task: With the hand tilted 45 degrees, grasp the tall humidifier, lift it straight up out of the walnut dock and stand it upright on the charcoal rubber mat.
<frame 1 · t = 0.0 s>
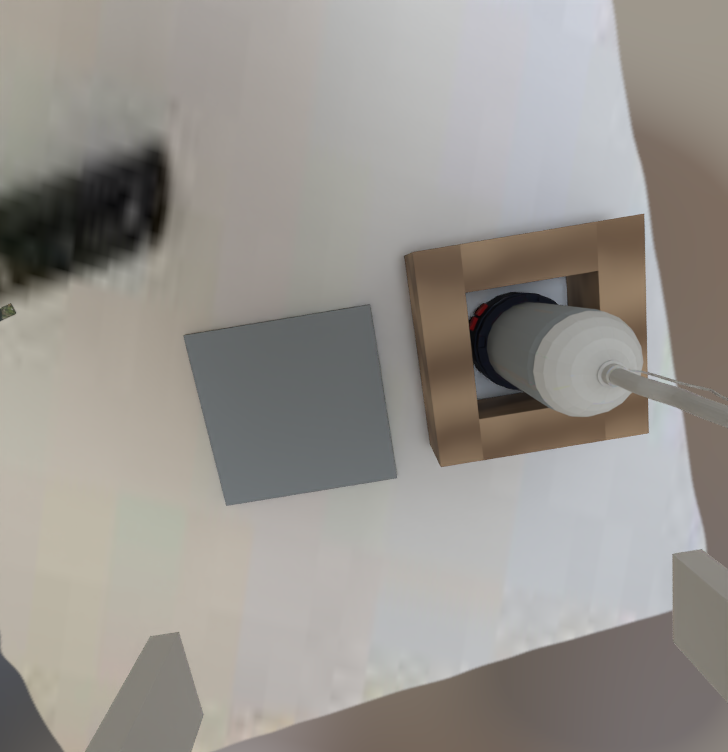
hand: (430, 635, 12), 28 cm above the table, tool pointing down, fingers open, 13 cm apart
mat: (295, 408, 39), on the table
dock: (513, 339, 38), on the table
humidifier: (512, 338, 39), resting in dock
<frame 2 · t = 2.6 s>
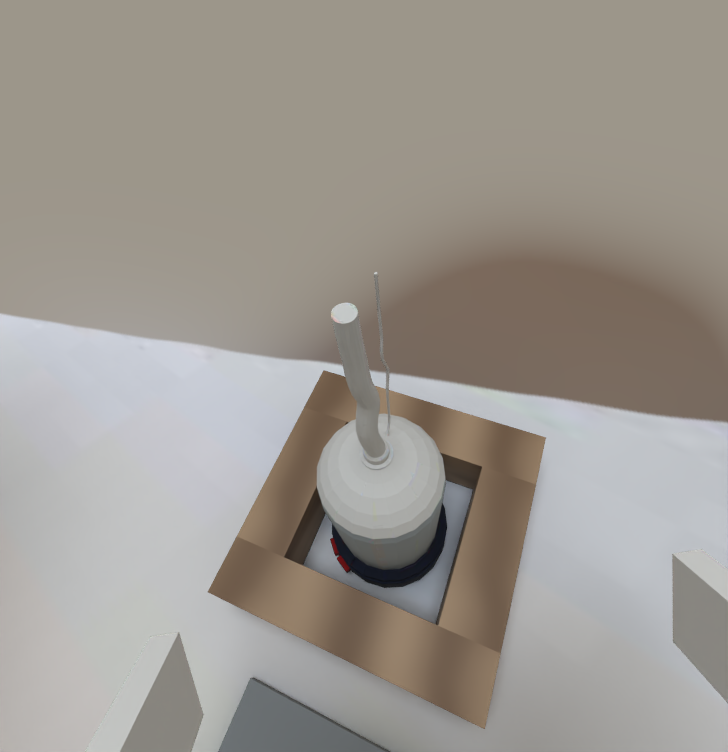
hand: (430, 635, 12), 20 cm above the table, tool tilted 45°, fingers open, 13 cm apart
dock: (389, 528, 33), on the table
humidifier: (389, 528, 33), resting in dock
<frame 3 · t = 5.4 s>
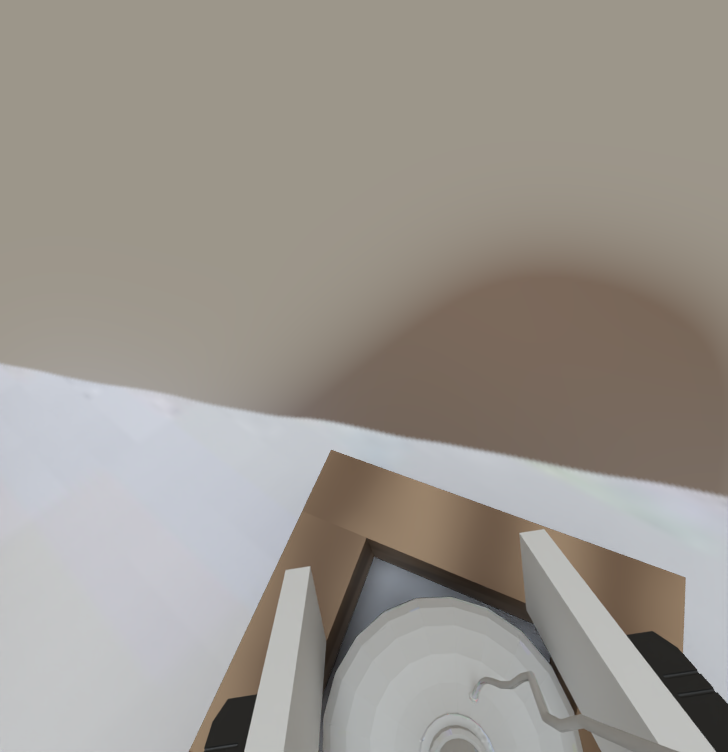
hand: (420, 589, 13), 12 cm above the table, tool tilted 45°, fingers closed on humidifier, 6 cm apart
dock: (430, 697, 21), on the table
humidifier: (430, 696, 22), resting in dock, touching gripper
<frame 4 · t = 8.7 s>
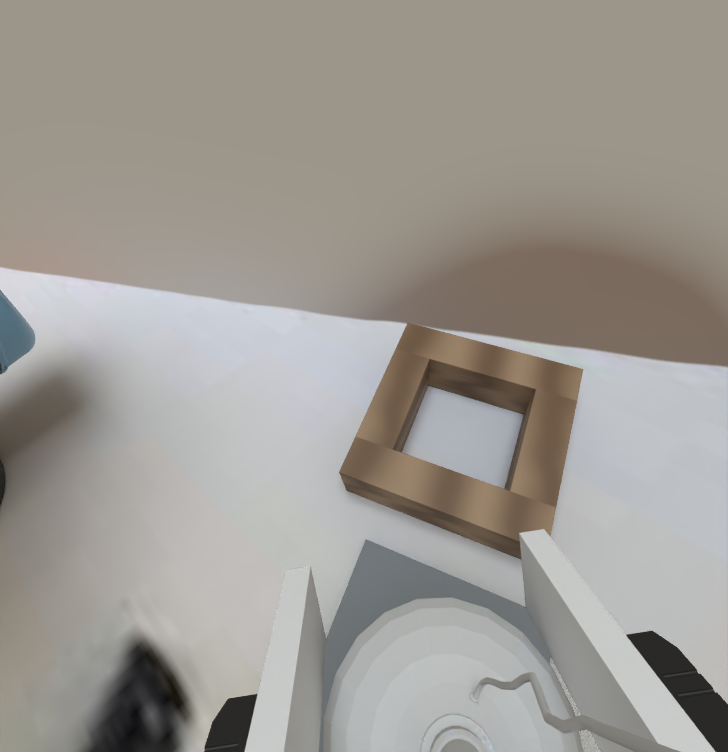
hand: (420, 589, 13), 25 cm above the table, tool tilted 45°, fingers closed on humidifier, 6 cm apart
mat: (423, 686, 33), on the table
dock: (460, 441, 43), on the table
humidifier: (430, 697, 22), point 13 cm above the table, touching gripper
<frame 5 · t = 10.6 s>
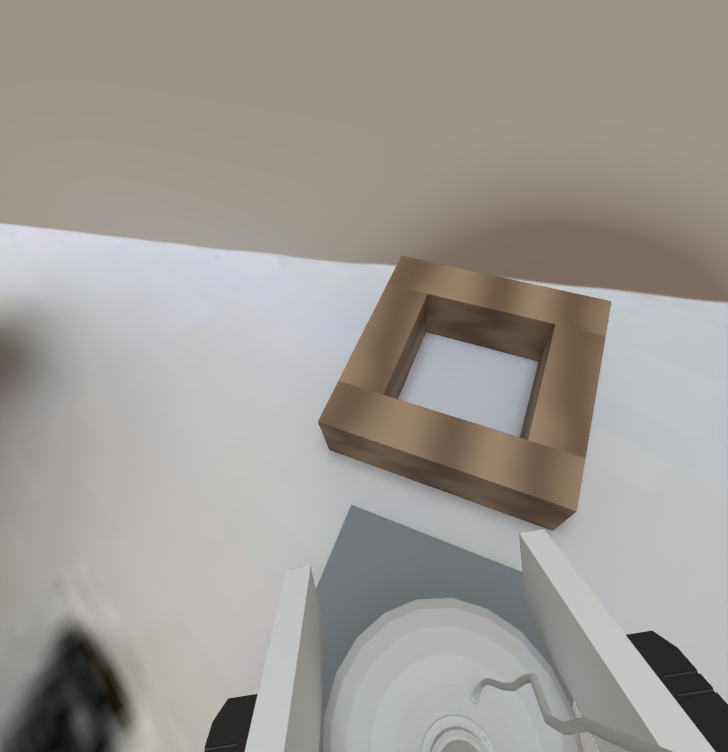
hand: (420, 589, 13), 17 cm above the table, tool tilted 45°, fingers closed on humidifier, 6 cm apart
mat: (422, 682, 26), on the table
dock: (464, 392, 36), on the table
humidifier: (430, 697, 22), point 5 cm above the table, touching gripper
when the fingers open (14 cm above the table, at t = 12.2 s): humidifier drops 1 cm, resting on mat.
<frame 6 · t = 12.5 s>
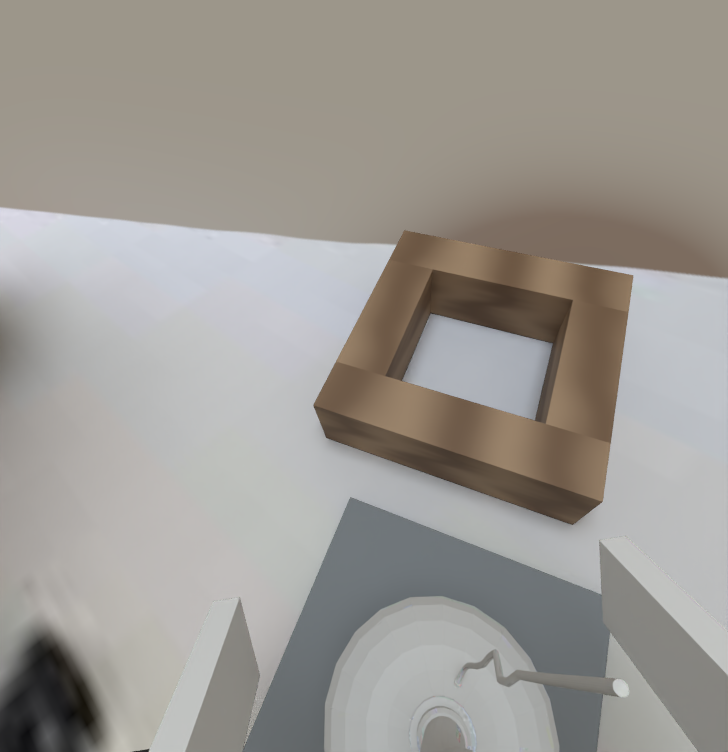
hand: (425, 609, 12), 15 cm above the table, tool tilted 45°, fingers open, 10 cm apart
mat: (429, 693, 23), on the table
dock: (473, 376, 33), on the table
humidifier: (426, 694, 23), resting on mat
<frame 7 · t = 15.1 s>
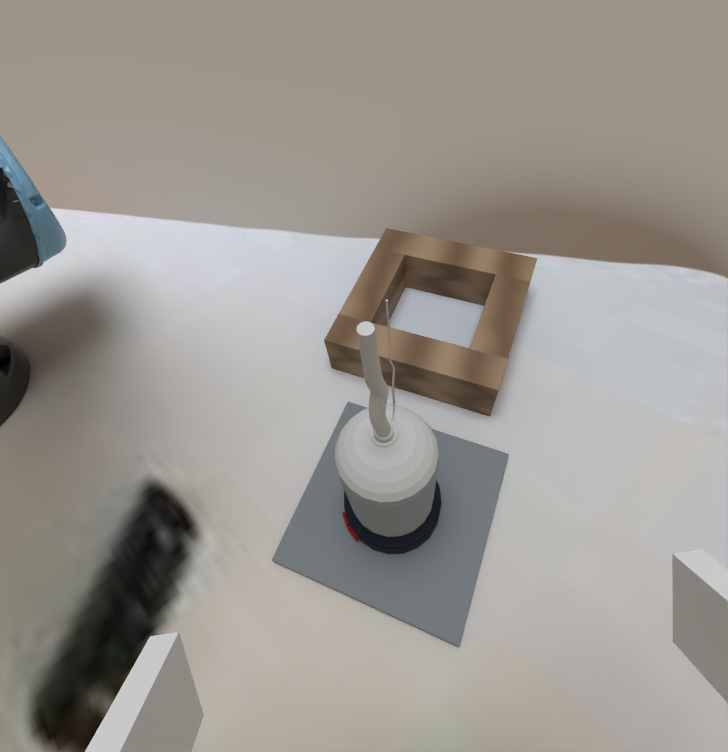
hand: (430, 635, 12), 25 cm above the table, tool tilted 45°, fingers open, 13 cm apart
mat: (395, 506, 38), on the table
dock: (432, 328, 48), on the table
humidifier: (392, 505, 38), resting on mat
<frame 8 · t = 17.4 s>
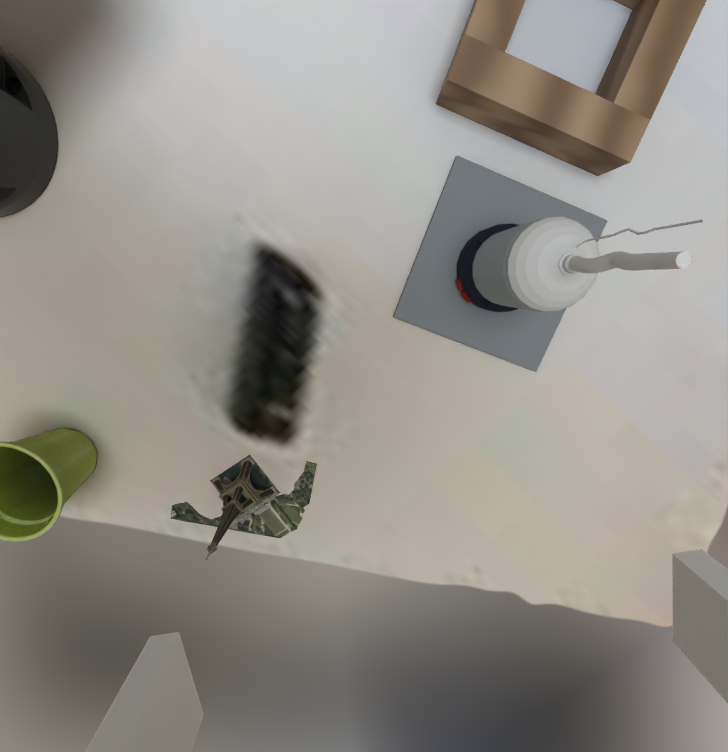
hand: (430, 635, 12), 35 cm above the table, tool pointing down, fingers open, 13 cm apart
plant pot: (70, 454, 47), on the table
mat: (496, 269, 44), on the table
dock: (558, 45, 39), on the table
eiffel tower figurine: (244, 487, 49), on the table
humidifier: (496, 269, 43), resting on mat
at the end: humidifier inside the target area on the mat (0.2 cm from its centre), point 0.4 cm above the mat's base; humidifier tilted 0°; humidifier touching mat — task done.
